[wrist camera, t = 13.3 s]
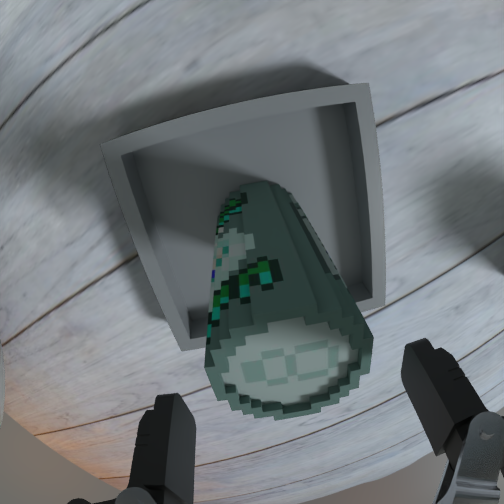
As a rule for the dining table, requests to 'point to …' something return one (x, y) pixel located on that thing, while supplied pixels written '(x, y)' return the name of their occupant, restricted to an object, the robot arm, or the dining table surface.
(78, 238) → the dining table surface
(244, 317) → the can
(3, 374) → the decorative bowl
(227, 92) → the dining table surface
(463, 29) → the dining table surface
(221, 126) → the tray
